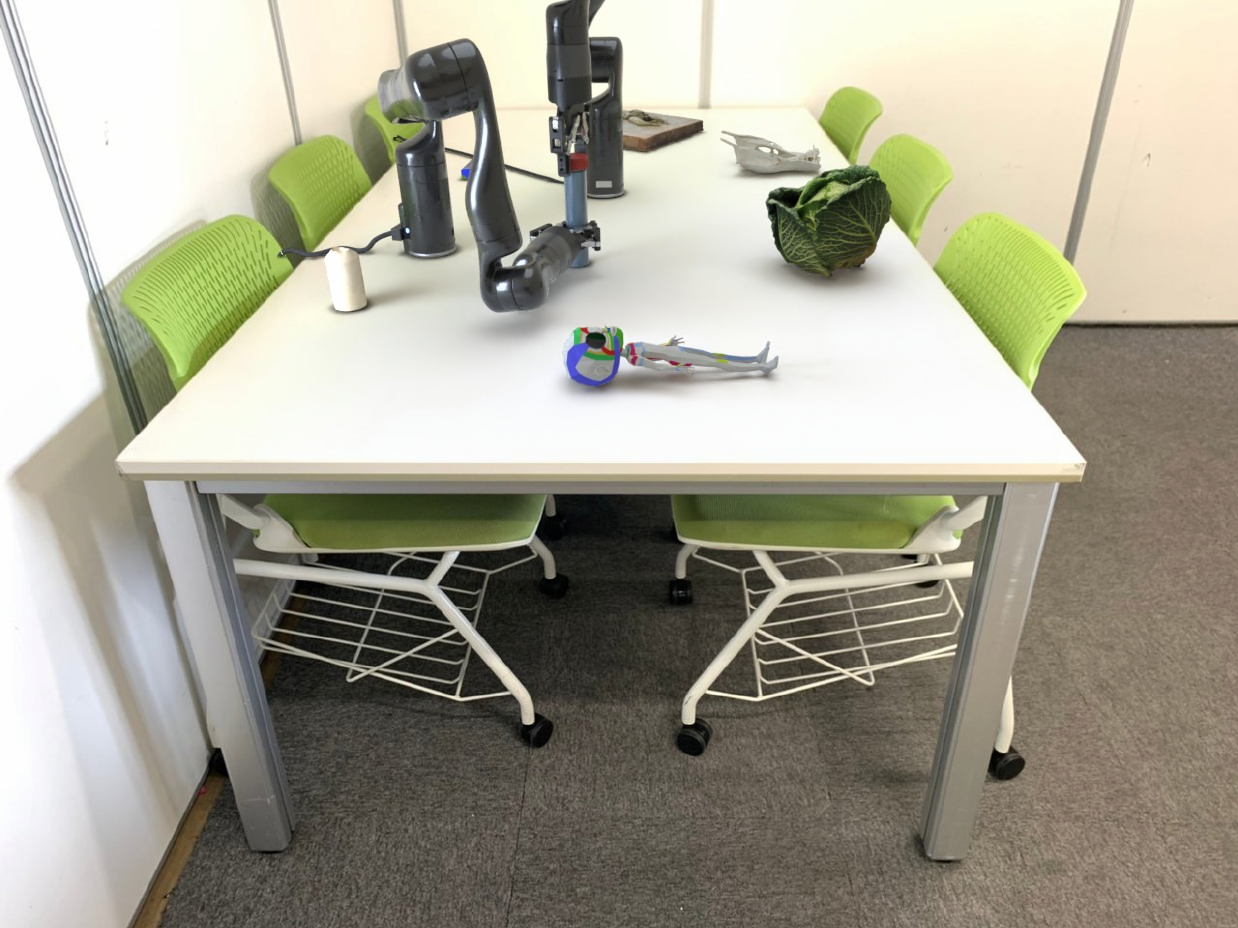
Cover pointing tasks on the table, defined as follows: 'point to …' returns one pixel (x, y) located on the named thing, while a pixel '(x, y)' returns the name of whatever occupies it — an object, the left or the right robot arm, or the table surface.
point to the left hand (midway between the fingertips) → (581, 224)
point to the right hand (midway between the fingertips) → (573, 171)
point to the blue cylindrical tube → (577, 208)
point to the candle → (345, 279)
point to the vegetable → (830, 219)
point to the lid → (578, 161)
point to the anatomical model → (770, 155)
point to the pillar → (466, 170)
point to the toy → (644, 356)
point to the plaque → (655, 129)
